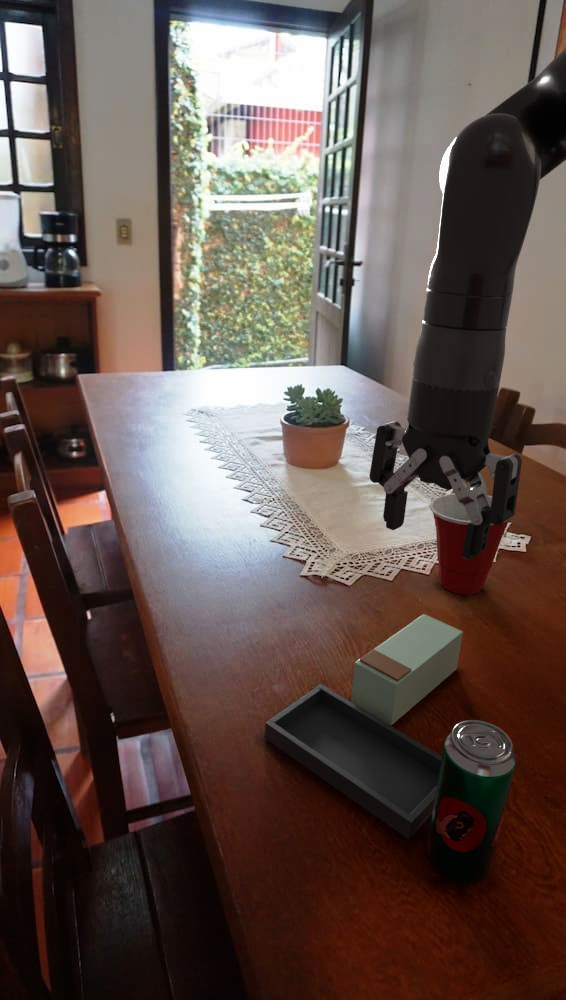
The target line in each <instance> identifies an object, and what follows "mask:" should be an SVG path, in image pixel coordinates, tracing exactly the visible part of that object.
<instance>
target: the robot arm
mask: <svg viewBox="0 0 566 1000" xmlns="http://www.w3.org/2000/svg"><path fill="white" fill-rule="evenodd" d="M565 161H566V47H565V48H564V49H563V50H561V52H560V53H559V54H557V55H556V56H555V57H554V58H553V60H551V61H550V62H549V63H548V65H546V67H544V69H543V70H542V71H541V72H540V73H539V74H537V76H535V78H534V79H532V80H531V81H529V82H527V83H526V84H525V85H523V86H522V87H521V88H520V89H518V90H516V92H515V93H513V94H512V95H510V96H508V98H506V99H505V100H504V101H502V102H501V103H500V104H498V105H497V106H495V108H493V109H492V110H490V111H489V112H487V113H486V114H484V116H483V115H482V116H480V117H479V118H476V119H475V120H474V121H471V122H470V123H469V124H468V125H466V126H465V127H464V128H463V129H462V130H460V131H459V133H458V134H457V135H456V136H455V138H454V139H452V141H451V142H450V143H449V145H448V147H447V149H446V150H445V152H444V154H443V156H442V160H441V163H440V167H439V187H440V190H441V192H442V203H441V211H440V220H439V229H438V239H437V247H436V253H435V256H434V258H433V260H432V262H431V265H430V269H429V273H428V278H427V285H426V291H425V300H424V307H423V316H422V322H421V323H422V324H421V328H420V332H419V334H418V338H417V342H416V347H415V355H414V360H413V369H412V375H411V376H412V377H411V386H410V393H409V401H408V409H407V415H406V419H407V422H408V425H407V428H406V427H402V425H401V423H400V422H399V421H396V420H395V421H391V422H388V423H384V424H382V425H379V426H378V427H377V429H376V434H375V440H374V446H373V452H372V457H371V464H370V469H369V475H368V476H369V481H371V482H372V483H374V484H376V483H377V484H378V485H380V486H381V487H382V488H383V491H384V492H385V499H384V506H383V514H382V517H383V521H384V522H385V528H386V529H388V530H391V531H395V530H397V529H400V528H401V527H402V526H403V525H404V522H405V515H406V509H407V502H408V501H407V500H408V493H409V491H408V490H405V488H407V487H408V486H409V485H410V484H411V483H412V482H413V481H414V480H415V479H417V478H419V481H420V482H422V483H425V484H435V485H436V486H438V487H439V488H441V489H443V490H446V491H450V490H451V491H452V490H453V494H455V495H456V497H457V499H458V501H459V502H460V503H462V504H463V505H464V507H465V509H466V511H467V514H468V516H469V518H470V520H471V521H470V522H468V524H467V530H466V536H465V541H464V547H463V553H462V557H463V558H465V559H468V560H471V559H473V558H474V557H476V556H478V555H479V554H481V553H482V552H484V550H485V549H486V546H487V541H488V536H489V530H490V525H491V524H494V525H500V524H501V523H503V522H505V521H506V520H508V519H510V518H511V517H512V518H513V517H514V516H515V513H516V508H517V499H518V493H519V485H520V478H521V472H522V471H521V469H522V463H523V460H522V457H521V456H520V455H519V454H517V453H512V454H510V455H502V454H497V453H494V452H491V449H490V444H489V439H490V435H491V432H492V430H493V424H494V417H495V413H496V412H495V411H496V405H497V400H498V394H499V390H500V384H501V378H502V373H503V367H504V361H505V356H506V355H505V354H506V334H507V327H508V323H509V318H510V317H509V316H510V311H511V306H512V305H511V304H512V299H513V292H514V286H515V276H516V269H517V264H518V260H519V257H520V254H521V251H522V249H523V245H524V242H525V239H526V236H527V233H528V229H529V226H530V223H531V219H532V215H533V213H534V212H533V211H534V207H535V204H536V200H537V196H538V192H539V185H540V181H541V180H542V179H543V178H544V177H546V176H547V175H548V174H550V173H551V172H553V171H554V170H555V169H556V168H558V167H559V166H560V165H562V164H563V163H564V162H565ZM401 445H402V446H403V448H404V450H405V452H406V455H407V457H408V458H407V460H405V462H403V464H401V465H400V466H399V468H397V469H396V470H395V466H396V460H397V454H398V449H399V447H400V446H401ZM485 467H487V468H488V469H489V476H490V477H489V478H491V479H492V480H493V487H492V495H491V496H492V502H491V501H490V499H489V497H488V496H489V495H488V490H489V489H488V486H487V484H486V481H485V479H484V477H483V475H482V472H481V471H482V470H483V469H485ZM394 470H395V471H394ZM468 483H469V486H470V487H469V486H468ZM512 518H511V519H512ZM511 519H510V520H511Z"/></svg>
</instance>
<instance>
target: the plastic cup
mask: <svg viewBox="0 0 566 1000" xmlns="http://www.w3.org/2000/svg"><path fill="white" fill-rule="evenodd" d="M488 497H489V499H490V501H491V502H492V495H488ZM428 507H429V509H430V511H431V512H432V516H433V519H434V526H435V534H436V536H435V537H436V554H437V555H436V556H437V561H438V579H439V583H440V585H441V587H443V588H444V589H445V590H446V591H449V592H452V593H453V594H458V595H474V594H478V593H479V592H480V591H482V588H484V586H485V583H486V580H487V577H488V574H489V572H490V571H491V569H492V566H493V564H494V561H495V557H496V555H497V553H498V550H499V547H500V544H501V541H502V538H503V536H504V534H505V531H506V529H507V527H508V523H510V520H511V519H512V518H513V517H511V518H510V519H508V520H506V521H505V522H503V523H501V524H500V525H494V524H491V525H490V530H489V536H488V541H487V546H486V549H485V550H484V552H482V553H481V554H479V555H478V556H476V557H474V558H473V559H471V560H468V559H465V558H463V557H462V553H463V547H464V541H465V536H466V530H467V524H468V522H470V521H471V520H470V518H469V516H468V514H467V511H466V509H465V507H464V505H463V504H462V503H460V502H459V501H458V499H457V497H456V495H455V493H449V494H445V495H443V494H442V495H439V496H437V497H435V498H434V499H432V500H431V501H430V503H429V506H428Z"/></svg>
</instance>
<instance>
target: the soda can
mask: <svg viewBox="0 0 566 1000" xmlns="http://www.w3.org/2000/svg"><path fill="white" fill-rule="evenodd" d="M441 756H442V760H441V766H440V771H439V777H438V783H437V789H436V794H435V800H434V806H433V812H432V815H431V817H430V824H429V830H428V835H427V842H426V855H427V857H428V860H429V861H430V863H431V865H432V866H433V868H434V869H435V870H436V871H437V872H438V873H439V874H441V875H442V876H443V877H444V878H446V879H448V880H449V881H452V882H454V883H458V884H464V885H471V884H476V883H480V882H481V881H484V880H485V879H486V878H488V876H489V875H490V873H491V872H492V870H493V865H494V861H495V857H496V853H497V848H498V844H499V840H500V835H501V831H502V826H503V822H504V819H505V813H506V809H507V804H508V801H509V796H510V793H511V792H510V791H511V786H512V782H513V778H514V773H515V770H516V765H517V757H516V754H515V751H514V745H513V742H512V739H511V737H510V736H509V734H507V733H506V732H505V731H504V730H503V729H502V728H500V727H499V726H497V725H495V724H494V723H493V724H492V723H490V722H487V721H484V720H478V719H468V720H463V721H460V722H458V723H457V724H456V725H454V727H453V728H452V730H451V732H450V733H449V734H448V735H447V736H446V737H445V739H444V742H443V748H442V754H441Z"/></svg>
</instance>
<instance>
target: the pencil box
mask: <svg viewBox="0 0 566 1000" xmlns="http://www.w3.org/2000/svg"><path fill="white" fill-rule="evenodd" d="M463 634H464V631H462V630H460V629H458V628H456V627H453V626H451V625H449V624H447V623H445V622H443V621H441V620H438V619H436V618H435V617H432V616H429V615H427V614H426V613H422V614H421V615H420V616H419V617H417V618H416V619H414V620H413V621H412V622H410V623H408V624H407V625H406V626H405V627H403V628H402V629H400V630H399V631H397V632H396V633H394V634H392V635H391V636H390V637H389V638H388V639H386V640H385V641H383V642H382V643H380V644H379V645H377V646H376V647H375V648H373V649H372V650H370V651H369V652H368V653H366V654H365V655H363V656H362V657H360V658H359V659H357V660H356V661H355V662H354V670H353V678H352V679H353V680H352V690H351V697H350V702H351V703H353V704H355V705H357V706H358V707H360V708H362V709H363V710H365V711H367V712H368V713H370V714H372V715H373V716H375V717H377V718H378V719H380V720H382V721H383V722H385V723H387V724H388V725H390V726H392V725H394V724H395V723H396V722H397V721H398V720H400V719H402V717H403V716H404V715H405V714H406V713H408V712H410V710H411V709H412V708H414V707H415V706H416V705H417V704H418V703H419V702H420V701H421V700H423V699H424V698H425V697H426V696H427V695H428V694H430V693H431V692H432V691H434V690H435V688H437V687H438V686H439V685H440V684H441V683H443V682H444V681H445V680H446V679H447V678H448V677H449V676H451V675H452V674H453V673H454V672H455V671H457V669H458V663H459V657H460V652H461V647H462V646H461V645H462V640H463V636H464V635H463Z"/></svg>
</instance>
